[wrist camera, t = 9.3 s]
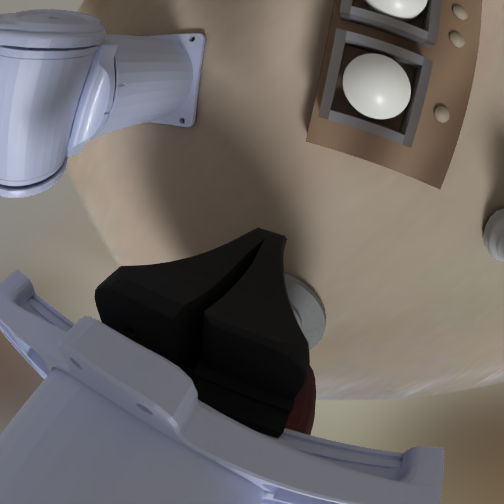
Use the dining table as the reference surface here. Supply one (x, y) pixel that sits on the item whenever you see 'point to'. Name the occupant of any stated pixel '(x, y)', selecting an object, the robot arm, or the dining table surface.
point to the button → (376, 86)
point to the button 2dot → (397, 8)
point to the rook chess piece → (495, 235)
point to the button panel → (420, 77)
